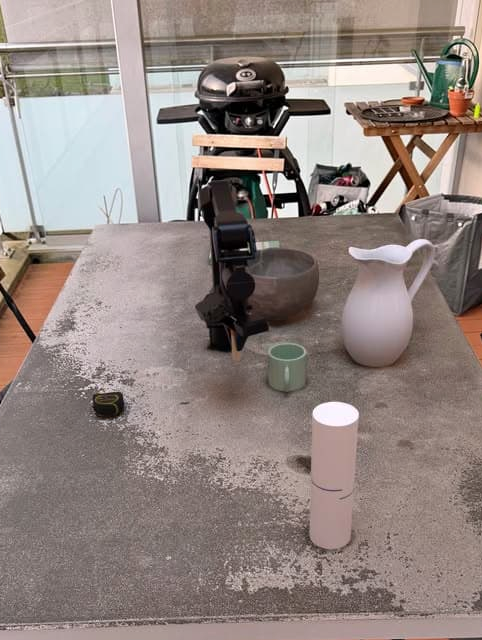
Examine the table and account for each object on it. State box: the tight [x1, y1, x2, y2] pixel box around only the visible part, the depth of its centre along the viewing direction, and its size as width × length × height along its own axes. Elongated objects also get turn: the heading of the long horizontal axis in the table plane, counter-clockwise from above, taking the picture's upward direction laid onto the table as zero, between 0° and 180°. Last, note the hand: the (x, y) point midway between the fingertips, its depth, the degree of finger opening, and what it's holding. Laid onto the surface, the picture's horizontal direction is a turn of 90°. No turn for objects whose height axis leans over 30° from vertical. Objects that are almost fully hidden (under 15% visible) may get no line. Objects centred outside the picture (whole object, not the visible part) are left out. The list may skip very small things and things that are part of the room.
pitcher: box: [341, 238, 436, 368], centre depth 175 cm, size 24×17×28 cm
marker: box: [231, 330, 242, 362], centre depth 159 cm, size 2×2×8 cm
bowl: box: [247, 246, 320, 321], centre depth 201 cm, size 24×24×15 cm
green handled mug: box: [267, 342, 307, 393], centre depth 169 cm, size 12×9×8 cm
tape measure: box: [92, 391, 125, 417], centre depth 163 cm, size 7×7×4 cm
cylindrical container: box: [308, 401, 360, 550], centre depth 121 cm, size 7×7×25 cm
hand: (236, 348), depth 160 cm, fingers closed on marker, 2 cm apart
